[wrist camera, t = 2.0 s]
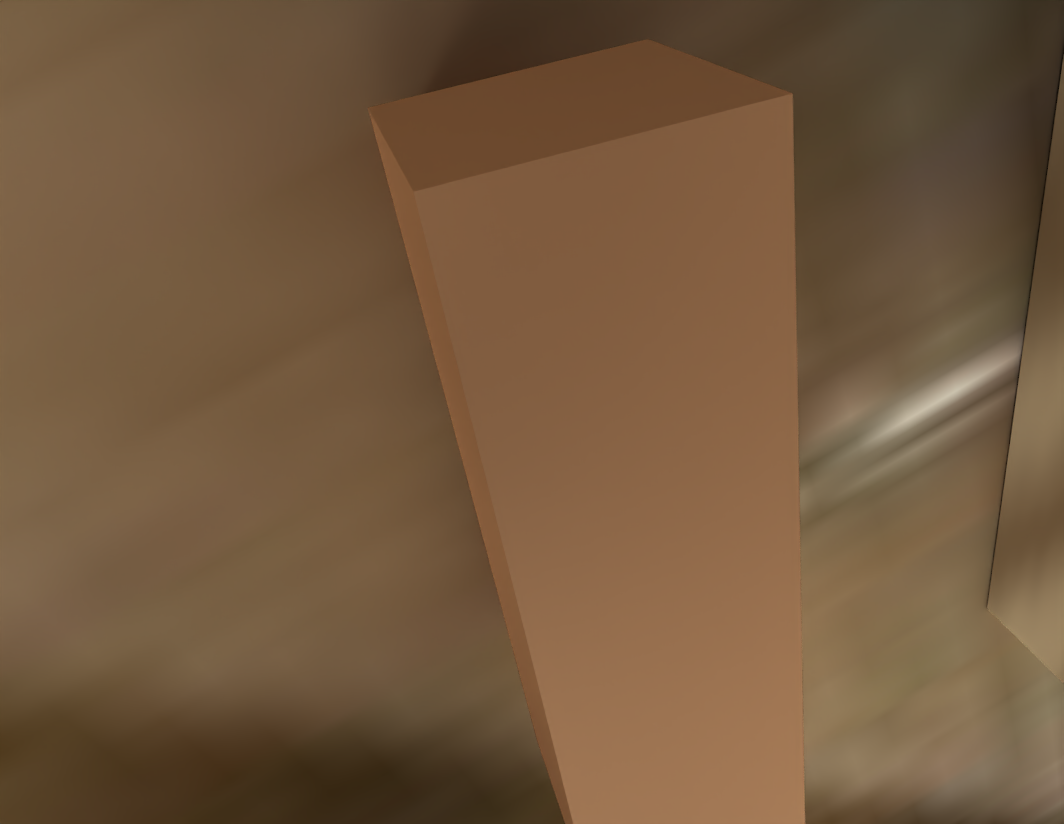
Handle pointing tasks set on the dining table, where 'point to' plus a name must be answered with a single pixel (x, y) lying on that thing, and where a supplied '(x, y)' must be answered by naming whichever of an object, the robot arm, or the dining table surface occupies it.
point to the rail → (1038, 448)
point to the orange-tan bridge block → (625, 412)
